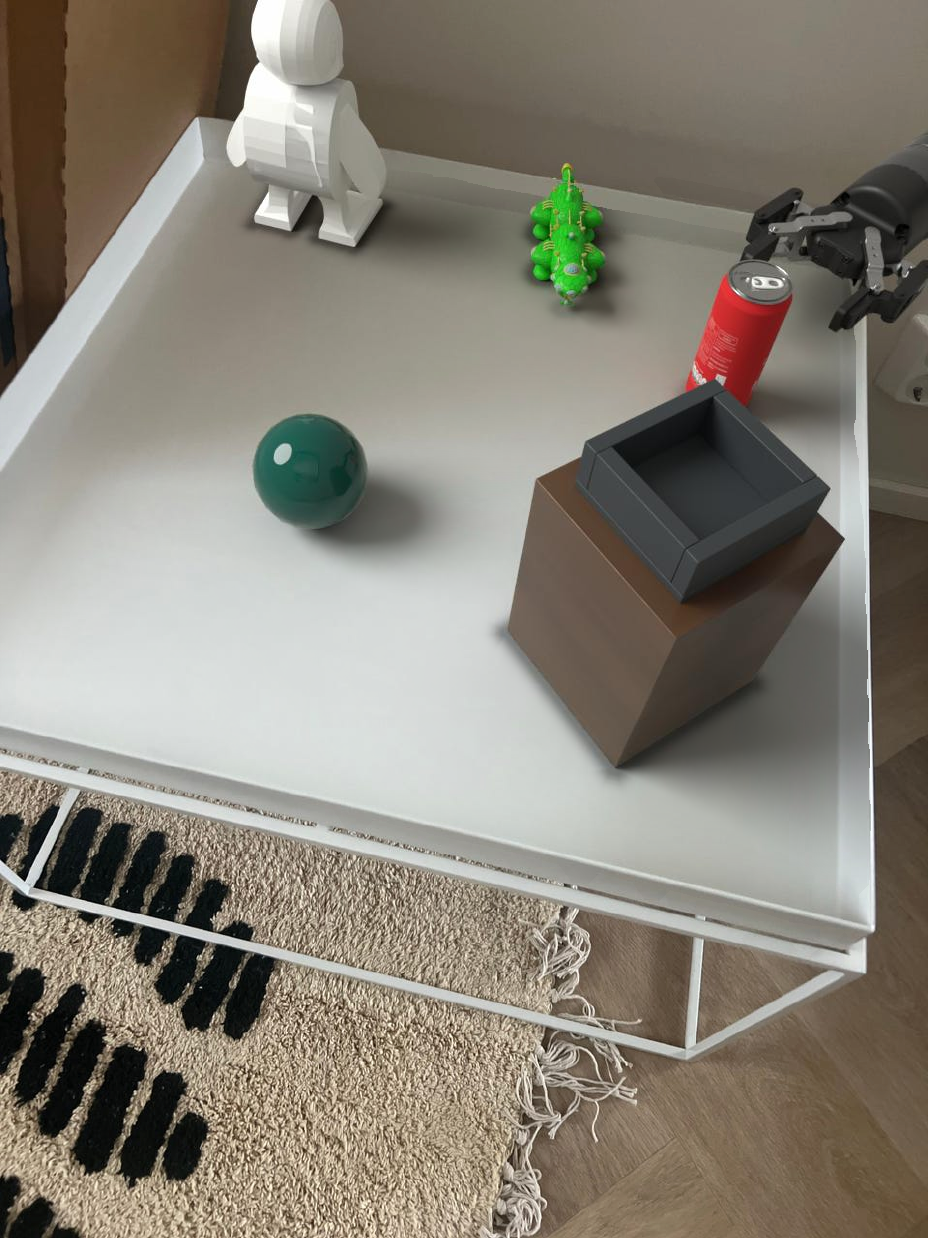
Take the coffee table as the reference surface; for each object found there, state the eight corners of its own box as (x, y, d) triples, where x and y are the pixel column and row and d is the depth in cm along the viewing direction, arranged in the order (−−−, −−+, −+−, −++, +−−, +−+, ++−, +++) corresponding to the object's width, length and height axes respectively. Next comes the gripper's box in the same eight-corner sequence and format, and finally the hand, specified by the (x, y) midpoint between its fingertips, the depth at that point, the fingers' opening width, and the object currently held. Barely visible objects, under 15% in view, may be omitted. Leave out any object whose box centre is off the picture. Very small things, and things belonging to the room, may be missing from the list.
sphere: (256, 552, 69) (241, 478, 62) (262, 465, 73) (249, 387, 67) (369, 551, 70) (367, 478, 63) (369, 465, 74) (367, 388, 67)
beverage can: (679, 376, 81) (720, 254, 71) (741, 380, 81) (791, 259, 71) (685, 423, 78) (728, 302, 68) (749, 427, 78) (801, 307, 68)
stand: (641, 556, 71) (700, 397, 57) (753, 680, 66) (846, 538, 53) (506, 630, 67) (535, 478, 53) (614, 768, 62) (676, 639, 48)
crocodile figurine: (528, 319, 84) (534, 278, 80) (527, 190, 93) (532, 148, 90) (604, 325, 84) (614, 284, 80) (596, 195, 93) (604, 153, 90)
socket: (697, 423, 56) (714, 377, 53) (806, 531, 53) (831, 488, 50) (573, 485, 53) (584, 440, 50) (680, 604, 50) (698, 563, 47)
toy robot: (401, 208, 91) (403, -27, 74) (369, 268, 86) (363, 32, 69) (261, 174, 92) (231, -64, 75) (222, 231, 87) (180, -9, 70)
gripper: (839, 128, 83) (729, 208, 76) (991, 207, 78) (889, 300, 71) (807, 207, 89) (703, 288, 82) (946, 285, 84) (848, 377, 77)
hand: (789, 293), depth 76 cm, fingers open, 8 cm apart
